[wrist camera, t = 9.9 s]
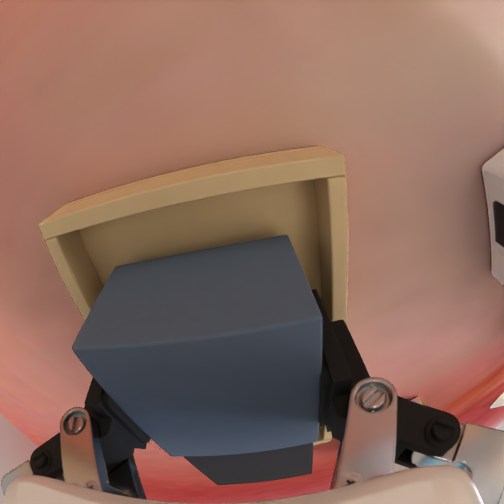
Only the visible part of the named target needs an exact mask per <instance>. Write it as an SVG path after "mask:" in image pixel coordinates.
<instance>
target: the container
mask: <svg viewBox="0 0 504 504" xmlns="http://www.w3.org/2000/svg"><path fill="white" fill-rule="evenodd" d="M482 175H483V180H484V186H485V192H486V199H487V206H488V215H489V225H490V239H491V273H492V275H493V277H494V278H496V279H497V280H498V281H499V282H500V283H501V284H502V285H503V286H504V148H503V149H502V150H501V151H500V152H498V153H497V154H496V155H495V156H493V157H492V158H491V159H489V160H488V161H487V162H486V163H484V165H483V166H482Z"/></svg>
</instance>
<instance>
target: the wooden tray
mask: <svg viewBox="0 0 504 504" xmlns="http://www.w3.org/2000/svg"><path fill="white" fill-rule="evenodd" d="M345 175H346V163H345V156H344V155H342V154H340V153H338V152H335V151H333V150H331V149H328V148H325V147H323V146H315V147H306V148H298V149H291V150H284V151H277V152H270V153H264V154H258V155H252V156H246V157H240V158H235V159H230V160H224V161H219V162H214V163H210V164H205V165H200V166H196V167H191V168H187V169H182V170H178V171H174V172H170V173H166V174H162V175H158V176H154V177H150V178H147V179H143V180H139V181H136V182H132V183H129V184H125V185H122V186H119V187H115V188H112V189H109V190H105V191H102V192H99V193H96V194H93V195H90V196H87V197H84V198H81V199H78V200H75V201H72V202H69V203H67V204H65V205H64V206H62V207H61V208H60V209H58V210H57V211H55V212H54V213H53V214H51V215H50V216H49V217H47V218H46V219H45V220H44V221H42V222H41V223H40V224H39V228H40V231H41V233H42V236H43V238H44V240H46V241H45V243H46V245H47V247H48V250H49V252H50V254H51V256H52V259H53V261H54V263H55V265H56V267H57V269H58V271H59V273H60V275H61V278H62V280H63V282H64V283H65V285H66V287H67V289H68V291H69V293H70V295H71V297H72V299H73V301H74V302H75V304H76V306H77V308H78V309H79V311H80V313H81V315H82V316H83V318H84V320H86V318H87V316H88V314H89V313H90V311H91V309H92V307H93V305H94V303H95V301H96V300H97V298H98V296H99V294H100V292H101V291H102V289H103V287H104V285H105V284H106V282H107V280H108V278H109V277H110V275H111V273H112V272H113V270H114V268H115V267H116V266H120V265H125V264H130V263H136V262H141V261H146V260H151V259H156V258H161V257H167V256H172V255H177V254H182V253H188V252H193V251H198V250H204V249H209V248H214V247H220V246H225V245H230V244H236V243H241V242H247V241H252V240H258V239H263V238H269V237H274V236H280V235H288V237H289V239H290V241H291V244H292V246H293V248H294V250H295V253H296V255H297V257H298V260H299V262H300V264H301V267H302V269H303V271H304V274H305V276H306V278H307V281H308V283H309V285H310V288H311V290H312V289H316V290H317V292H318V294H319V297H320V299H321V301H322V304H323V306H324V308H325V311H326V313H327V315H328V318H329V320H330V322H333V321H337V320H341V319H342V320H344V322H345V324H346V312H347V292H348V200H347V180H346V176H345ZM331 439H332V433H331V431H330V432H327V429H326V425H325V426H320V424H319V436H318V441H317V442H313V445H317V444H321V443H325V442H329V441H331Z"/></svg>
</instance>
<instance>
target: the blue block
mask: <svg viewBox="0 0 504 504" xmlns="http://www.w3.org/2000/svg"><path fill="white" fill-rule="evenodd" d="M72 349H73V351H74V353H75V354H76V355H77V357H78V358H79V359H80V361H81V362H82V363H83V365H84V366H85V367H86V369H87V370H88V371H89V372H90V374H91V375H92V376H93V377H94V379H95V380H96V381H97V382H98V383H99V385H100V386H101V387H102V388H103V389H104V390H105V392H106V393H107V394H108V395H109V396H110V397H111V398H112V399H113V400H114V401H115V403H116V404H117V405H118V406H119V407H120V408H121V409H122V410H123V411H124V412H125V413H126V414H127V415H128V416H129V417H130V418H131V419H132V420H133V421H134V422H135V423H136V424H137V425H138V426H139V427H140V428H141V429H142V430H143V431H144V432H145V433H146V434H147V435H148V436H149V437H150V438H151V439H152V440H153V441H154V442H155V443H157V444H158V445H159V446H160V447H161V448H162V449H163V450H165V451H166V452H167V453H168V454H169V455H170V456H218V455H232V454H244V453H253V452H261V451H269V450H275V449H282V448H287V447H293V446H298V445H303V444H308V443H313V442H317V441H318V436H319V409H320V385H321V373H322V315H321V312H320V310H319V307H318V305H317V302H316V300H315V297H314V295H313V293H312V290H311V288H310V285H309V283H308V281H307V278H306V276H305V274H304V271H303V269H302V267H301V264H300V262H299V260H298V257H297V255H296V253H295V250H294V248H293V246H292V244H291V241H290V239H289V237H288V235H280V236H274V237H269V238H263V239H258V240H252V241H247V242H241V243H236V244H230V245H225V246H220V247H214V248H209V249H204V250H198V251H193V252H188V253H182V254H177V255H172V256H167V257H161V258H156V259H151V260H146V261H141V262H136V263H130V264H125V265H120V266H116V267H115V268H114V270H113V272H112V273H111V275H110V277H109V278H108V280H107V282H106V284H105V285H104V287H103V289H102V291H101V292H100V294H99V296H98V298H97V300H96V301H95V303H94V305H93V307H92V309H91V311H90V313H89V314H88V316H87V318H86V320H85V322H84V324H83V326H82V328H81V330H80V332H79V334H78V336H77V338H76V340H75V342H74V344H73V346H72Z"/></svg>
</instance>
